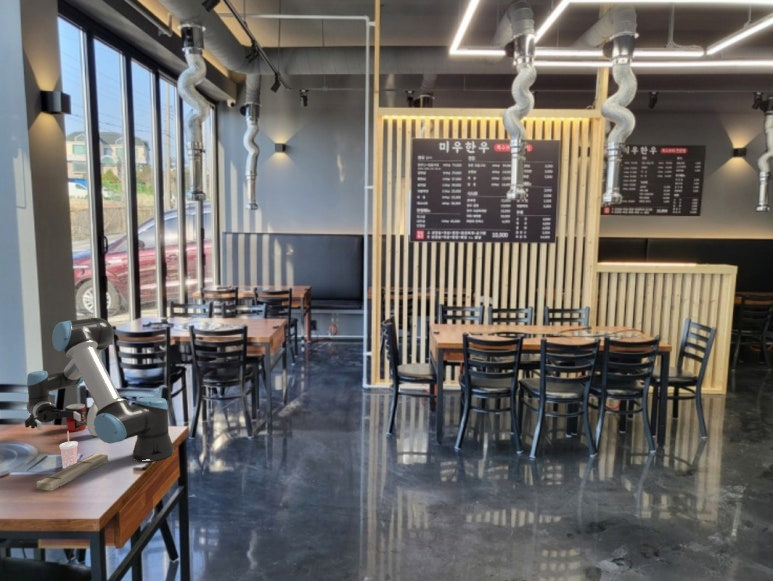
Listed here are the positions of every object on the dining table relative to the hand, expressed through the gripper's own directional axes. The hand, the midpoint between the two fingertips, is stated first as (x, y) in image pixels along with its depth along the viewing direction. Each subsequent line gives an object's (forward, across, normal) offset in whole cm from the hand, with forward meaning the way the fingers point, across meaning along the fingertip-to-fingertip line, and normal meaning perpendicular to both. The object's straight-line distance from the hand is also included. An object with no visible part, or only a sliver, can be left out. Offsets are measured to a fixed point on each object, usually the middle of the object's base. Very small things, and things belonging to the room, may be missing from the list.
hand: (60, 422), depth 207 cm
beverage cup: (+11, +1, -15) cm, 19 cm away
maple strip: (+20, +1, -15) cm, 25 cm away
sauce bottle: (-18, -18, -15) cm, 30 cm away
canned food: (-35, -15, -14) cm, 41 cm away
